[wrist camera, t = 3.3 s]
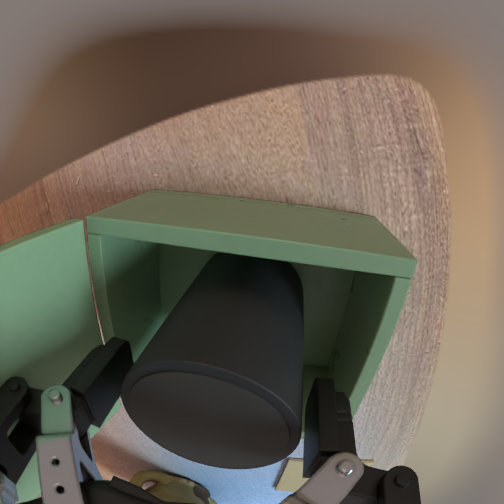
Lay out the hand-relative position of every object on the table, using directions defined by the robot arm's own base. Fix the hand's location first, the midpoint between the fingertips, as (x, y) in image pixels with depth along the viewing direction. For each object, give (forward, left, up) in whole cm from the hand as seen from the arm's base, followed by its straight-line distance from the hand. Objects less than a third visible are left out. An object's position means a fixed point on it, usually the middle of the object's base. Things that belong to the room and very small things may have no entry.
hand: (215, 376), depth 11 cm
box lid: (+7, 0, +6) cm, 10 cm away
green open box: (0, 0, -8) cm, 8 cm away
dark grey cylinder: (0, 0, -7) cm, 7 cm away
